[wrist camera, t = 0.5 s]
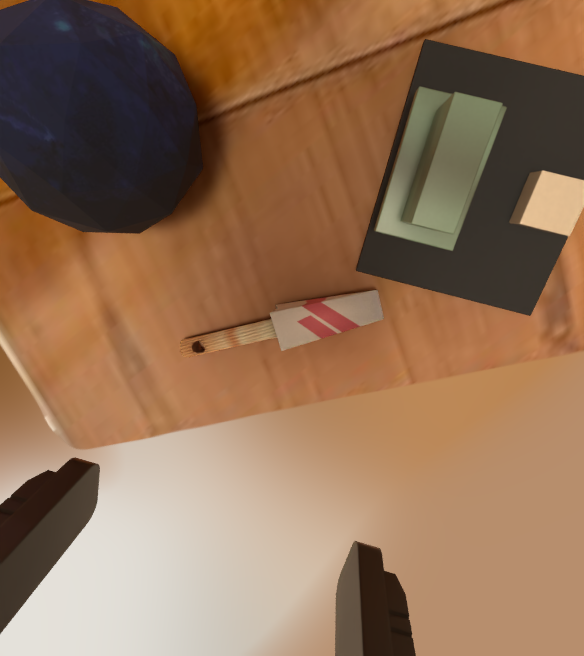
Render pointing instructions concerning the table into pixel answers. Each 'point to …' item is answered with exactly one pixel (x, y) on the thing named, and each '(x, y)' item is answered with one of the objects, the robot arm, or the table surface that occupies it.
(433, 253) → the mat
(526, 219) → the beige square block
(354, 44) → the table surface
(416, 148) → the green stepped block
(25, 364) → the table surface
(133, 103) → the decorative orb
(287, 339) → the paintbrush
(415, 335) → the table surface
